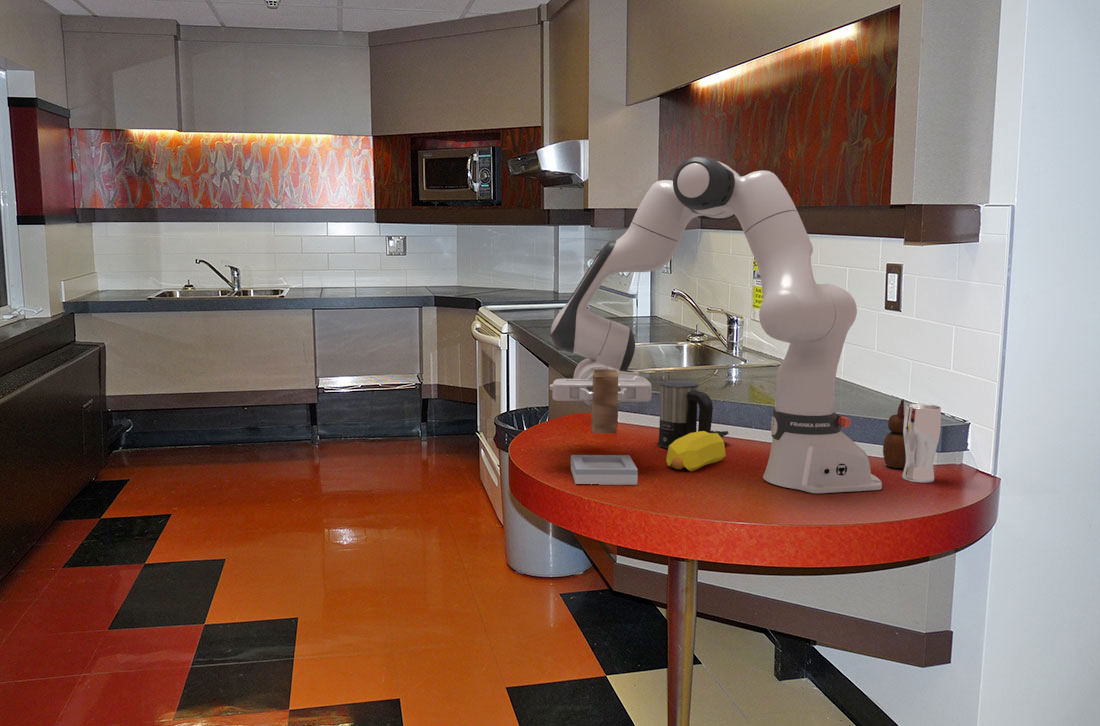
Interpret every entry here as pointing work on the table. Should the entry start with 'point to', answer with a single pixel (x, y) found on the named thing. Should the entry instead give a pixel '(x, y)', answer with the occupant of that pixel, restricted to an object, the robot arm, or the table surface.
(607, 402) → the column block
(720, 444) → the hot dog
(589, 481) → the plinth base
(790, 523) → the table surface
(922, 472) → the beer glass
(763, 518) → the table surface
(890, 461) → the wooden figurine
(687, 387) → the milk frother
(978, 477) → the table surface
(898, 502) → the table surface
